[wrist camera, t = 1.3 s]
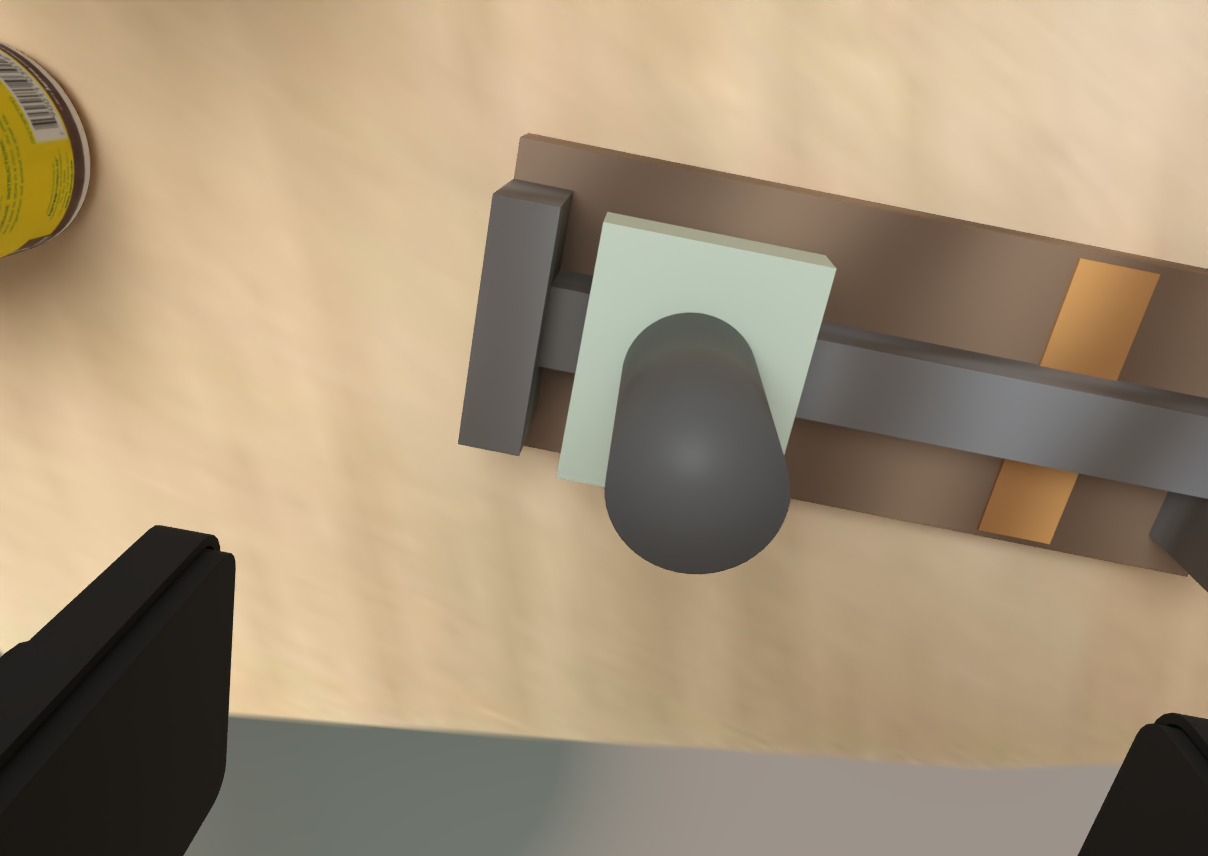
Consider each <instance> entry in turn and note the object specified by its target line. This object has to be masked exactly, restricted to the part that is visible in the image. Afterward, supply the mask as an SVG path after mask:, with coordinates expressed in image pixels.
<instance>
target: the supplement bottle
mask: <svg viewBox="0 0 1208 856" xmlns="http://www.w3.org/2000/svg"><path fill="white" fill-rule="evenodd" d="M89 180H90V154H89V148H88V143H87V138H86V135H85V132H84V129H83V126H82V123H81V120H80V118H79V116H78V114H77V112H76V110H75V108H74V106H73V105H72V103H71V101H70V99H69V98H68V96H67V95H66V94H65V92H64V91H63V89H62V88H61V87H60V86H59V84H58V83H57V82H56V81H55V80H54V79H53V78H52V77H51V76H50V75H49V74H48V73H47V72H46V71H45V70H44V69H43V68H42V67H41V66H40V65H38V64H37V63H36V62H35V61H33V60H32V59H30V58H29V57H28V56H26V55H25V54H23V53H21V52H20V51H18V50H16V49H14V48H12V47H10V46H8V45H6V44H4V43H2V42H0V258H1V257H4V256H8V255H12V254H15V253H18V252H21V251H24V250H27V249H30V248H33V247H36V246H38V245H41V244H43V243H45V242H47V241H49V240H51V239H53V238H54V237H56V236H57V235H59V234H60V233H61V232H62V231H63V230H65V229H66V228H67V227H68V226H69V224H70V223H71V222H72V221H73V220H74V218H75V217H76V215H77V214H78V212H79V210H80V208H81V206H82V204H83V202H84V199H85V196H86V193H87V189H88V185H89Z"/></svg>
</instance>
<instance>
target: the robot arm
mask: <svg viewBox="0 0 1208 856" xmlns="http://www.w3.org/2000/svg"><path fill="white" fill-rule="evenodd" d="M235 570H236V568H235V558H234V556H233V555H232V554H231V553H227V552H222V551H220V545H219V541H218V539H217V538H216V537H215V536H214V535H210V534H205V533H199V532H194V531H189V530H183V529H178V528H172V527H167V526H162V525H155V526H154V527H152V528H151V529H149V530H148V531H147V532H146V533H145V534H144V535H143V536H141V537H140V538H139V539H138V540H137V541H136V542H135V543H134V544H133V545H132V546H131V547H130V548H128V549H127V550H126V551H125V552H124V553H123V554H122V555H121V556H120V557H119V558H118V559H117V560H116V561H114V562H113V563H112V564H111V565H110V566H109V567H108V568H107V569H106V570H105V571H104V572H103V573H101V574H100V575H99V576H98V577H97V578H96V579H95V580H94V581H93V582H92V583H91V584H90V585H88V586H87V587H86V588H85V589H84V590H83V591H82V592H81V593H80V594H79V595H78V596H77V597H76V598H74V599H73V600H72V601H71V602H70V603H69V604H68V605H67V606H66V607H65V608H64V609H63V610H61V611H60V612H59V613H58V614H57V615H56V616H55V617H54V618H53V619H52V620H51V621H50V622H49V623H47V624H46V625H45V626H44V627H43V628H42V629H41V630H40V631H39V632H38V633H37V634H36V635H34V636H33V637H32V638H31V639H30V640H29V641H26V642H22V643H19V644H17V645H16V646H15V647H13V648H12V649H10V650H9V651H7V652H6V653H5V654H4V655H3V656H1V657H0V856H183V855H184V853H185V852H186V850H187V848H188V847H189V845H190V843H191V842H192V840H193V838H194V836H195V835H196V833H197V831H198V830H199V828H200V826H201V825H202V823H203V821H204V819H205V818H206V816H207V814H208V813H209V811H210V809H211V808H212V806H213V804H214V802H215V800H216V798H217V796H218V793H219V791H220V787H221V785H222V781H223V778H224V773H225V767H226V753H227V732H228V712H229V692H230V671H231V651H232V631H233V610H234V590H235ZM1078 856H1208V719H1204V718H1198V717H1193V716H1188V715H1182V714H1177V713H1168V714H1164V715H1162V716H1161V717H1160V718H1158V719H1157V720H1156V721H1155V723H1154V724H1146V725H1145V726H1144V727H1142V728H1141V729H1140V731H1139V732H1138V733H1137V735H1136V737H1135V739H1134V741H1133V743H1132V745H1131V747H1130V749H1129V751H1128V753H1127V755H1126V758H1125V760H1124V762H1123V764H1122V766H1121V768H1120V770H1119V772H1118V774H1117V776H1116V778H1115V780H1114V782H1113V784H1112V786H1111V788H1110V790H1109V792H1108V794H1107V797H1106V799H1105V801H1104V803H1103V805H1102V807H1101V809H1100V811H1099V813H1098V815H1097V817H1096V819H1095V821H1094V824H1093V825H1092V827H1091V829H1090V831H1089V834H1088V836H1087V838H1086V840H1085V842H1084V844H1083V846H1082V848H1081V850H1080V852H1079V854H1078Z"/></svg>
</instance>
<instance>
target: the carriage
mask: <svg viewBox="0 0 1208 856" xmlns="http://www.w3.org/2000/svg"><path fill="white" fill-rule="evenodd" d="M836 269H837V268H836V267H835V266H834V265H833V264H832V262H831V261H830V260H829V259H828V258H827V257H826V255H822V254H817V253H812V252H807V251H802V250H796V249H791V248H786V247H781V246H776V245H771V244H766V243H761V242H756V241H751V240H746V239H741V238H736V237H731V236H726V235H721V234H716V233H711V232H706V231H701V230H696V229H691V228H686V227H681V226H676V225H671V224H666V223H661V222H656V221H651V220H646V219H641V218H636V217H631V216H626V215H621V214H616V213H611V212H607V214H606V217H605V219H604V222H603V226H602V232H601V237H600V243H599V248H598V253H597V259H596V264H595V270H594V275H593V281H592V286H591V291H590V297H589V302H588V308H587V313H586V319H585V324H584V329H583V335H582V340H581V346H580V351H579V356H578V362H577V367H576V373H575V378H574V384H573V389H572V394H571V400H570V405H569V411H568V416H567V421H566V427H565V432H564V438H563V443H562V449H561V454H560V459H559V465H558V470H557V476H556V478H560V479H565V480H570V481H576V482H581V483H586V484H591V485H596V486H601V487H605V501H606V508H607V511H608V514H609V517H610V520H611V522H612V524H613V526H614V528H615V530H616V531H617V533H618V534H619V536H620V537H621V539H622V540H623V541H624V542H625V543H626V545H627V546H628V547H629V548H631V549H632V550H633V551H634V552H635V553H636V554H638V555H639V556H640V557H642V558H643V559H645V560H646V561H648V562H650V563H652V564H654V565H656V566H659V567H661V568H664V569H667V570H670V571H674V572H679V573H686V574H707V573H715V572H720V571H724V570H727V569H730V568H733V567H736V566H738V565H740V564H742V563H744V562H746V561H748V560H749V559H751V558H752V557H754V556H756V555H757V554H758V553H759V552H760V551H762V550H763V549H764V548H765V547H766V546H767V545H768V544H769V543H770V542H771V541H772V539H773V538H774V537H775V535H776V534H777V533H778V531H779V529H780V527H781V526H782V524H783V522H784V519H785V517H786V514H787V511H788V507H789V502H790V492H791V487H790V477H789V472H788V468H787V464H786V461H785V458H784V454H785V451H786V447H787V443H788V440H789V436H790V433H791V429H792V426H793V422H794V419H795V415H796V411H797V408H798V404H799V401H800V397H801V394H802V390H803V386H804V383H805V379H806V376H807V372H808V369H809V365H810V362H811V358H812V354H813V351H814V347H815V344H816V340H817V337H818V333H819V330H820V326H821V322H822V319H823V315H824V312H825V308H826V305H827V301H828V297H829V294H830V290H831V287H832V283H833V280H834V276H835V273H836Z"/></svg>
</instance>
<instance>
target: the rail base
mask: <svg viewBox="0 0 1208 856" xmlns="http://www.w3.org/2000/svg"><path fill="white" fill-rule="evenodd" d="M607 212H611V213H616V214H621V215H626V216H631V217H636V218H641V219H646V220H651V221H656V222H661V223H666V224H671V225H676V226H681V227H686V228H691V229H696V230H701V231H706V232H711V233H716V234H721V235H726V236H731V237H736V238H741V239H746V240H751V241H756V242H761V243H766V244H771V245H776V246H781V247H786V248H791V249H796V250H802V251H807V252H812V253H817V254H822V255H826V257H827V258H828V259H829V260H830V261H831V262H832V264H833V265H834V266H835V267H836V268H837V269H836V273H835V276H834V280H833V283H832V287H831V290H830V294H829V297H828V301H827V305H826V308H825V312H824V315H823V319H822V322H821V326H820V330H819V333H818V337H817V340H816V344H815V347H814V351H813V354H812V358H811V362H810V365H809V369H808V372H807V376H806V379H805V383H804V386H803V390H802V394H801V397H800V401H799V404H798V408H797V411H796V415H795V419H794V422H793V426H792V429H791V433H790V436H789V440H788V443H787V447H786V451H785V454H784V458H785V461H786V464H787V468H788V472H789V477H790V487H791V492H790V498H791V499H796V500H802V501H807V502H812V503H817V504H822V505H827V506H832V507H837V508H842V509H847V510H852V511H857V512H862V513H867V514H872V515H877V516H883V517H888V518H893V519H898V520H903V521H908V522H913V523H918V524H923V525H928V526H933V527H938V528H943V529H948V530H953V531H958V532H964V533H969V534H974V535H979V536H984V537H989V538H994V539H999V540H1004V541H1009V542H1014V543H1019V544H1024V545H1029V546H1034V547H1039V548H1044V549H1050V550H1055V551H1060V552H1065V553H1070V554H1075V555H1080V556H1085V557H1090V558H1095V559H1100V560H1105V561H1110V562H1115V563H1120V564H1125V565H1131V566H1136V567H1141V568H1146V569H1151V570H1156V571H1161V572H1166V573H1171V574H1176V575H1181V576H1186V577H1187V576H1188V574H1190V575H1191V576H1192V577H1193V578H1194V579H1195V580H1196V581H1197V582H1198V583H1199V584H1200V585H1201V586H1202V587H1203V588H1204V589H1205V590H1206V591H1207V592H1208V269H1204V268H1199V267H1194V266H1189V265H1184V264H1179V263H1174V262H1169V261H1165V260H1160V259H1155V258H1150V257H1145V256H1140V255H1135V254H1130V253H1125V252H1120V251H1115V250H1110V249H1105V248H1100V247H1095V246H1090V245H1085V244H1080V243H1075V242H1070V241H1065V240H1060V239H1055V238H1050V237H1045V236H1040V235H1035V234H1030V233H1025V232H1020V231H1015V230H1010V229H1005V228H1000V227H995V226H990V225H985V224H980V223H975V222H970V221H965V220H960V219H955V218H950V217H945V216H940V215H935V214H930V213H925V212H920V211H915V210H910V209H905V208H900V207H895V206H890V205H885V204H880V203H875V202H870V201H865V200H860V199H855V198H850V197H845V196H840V195H835V194H830V193H825V192H820V191H815V190H810V189H805V188H800V187H795V186H790V185H785V184H780V183H775V182H770V181H765V180H760V179H755V178H750V177H745V176H740V175H735V174H730V173H725V172H720V171H715V170H710V169H705V168H700V167H695V166H690V165H685V164H680V163H675V162H670V161H665V160H660V159H655V158H650V157H645V156H640V155H635V154H630V153H625V152H620V151H615V150H610V149H605V148H600V147H595V146H590V145H585V144H580V143H575V142H570V141H565V140H560V139H555V138H550V137H545V136H540V135H535V134H530V133H528V134H526V135H524V136H522V137H520V142H519V148H518V155H517V162H516V169H515V176H514V179H513V180H512V181H510V182H509V183H507V184H506V185H505V186H503V187H502V188H500V189H499V190H498V191H496V192H495V193H493V197H492V204H491V211H490V219H489V226H488V233H487V240H486V247H485V254H484V261H483V269H482V276H481V283H480V290H479V297H478V304H477V311H476V319H475V326H474V333H473V340H472V347H471V354H470V361H469V369H468V376H467V383H466V390H465V397H464V404H463V412H462V419H461V426H460V433H459V440H458V444H460V445H465V446H470V447H476V448H481V449H486V450H491V451H496V452H501V453H506V454H511V455H516V456H519V455H520V452H521V450H522V447H523V446H528V447H533V448H538V449H543V450H548V451H554V452H559V453H561V449H562V443H563V438H564V432H565V427H566V421H567V416H568V411H569V405H570V400H571V394H572V389H573V384H574V378H575V373H576V367H577V362H578V356H579V351H580V346H581V340H582V335H583V329H584V324H585V319H586V313H587V308H588V302H589V297H590V291H591V286H592V281H593V275H594V270H595V264H596V259H597V253H598V248H599V243H600V237H601V232H602V226H603V222H604V219H605V217H606V214H607Z"/></svg>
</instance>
